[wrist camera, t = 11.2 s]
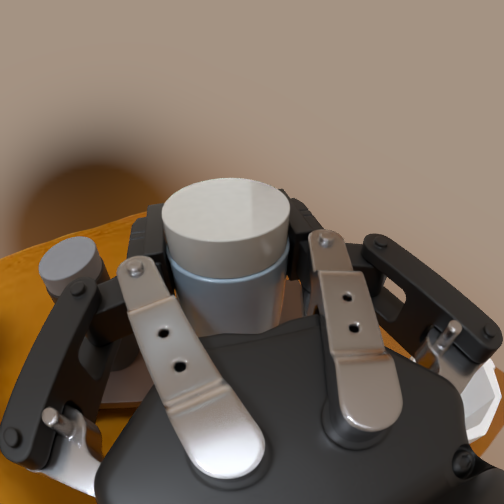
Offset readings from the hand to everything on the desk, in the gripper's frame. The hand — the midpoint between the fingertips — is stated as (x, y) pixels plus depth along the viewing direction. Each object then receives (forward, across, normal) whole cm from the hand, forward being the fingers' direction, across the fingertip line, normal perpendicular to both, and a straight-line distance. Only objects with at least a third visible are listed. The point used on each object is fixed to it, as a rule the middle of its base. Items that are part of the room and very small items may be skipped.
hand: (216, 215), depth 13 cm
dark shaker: (+3, +9, +13) cm, 16 cm away
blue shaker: (-3, 0, +8) cm, 8 cm away
